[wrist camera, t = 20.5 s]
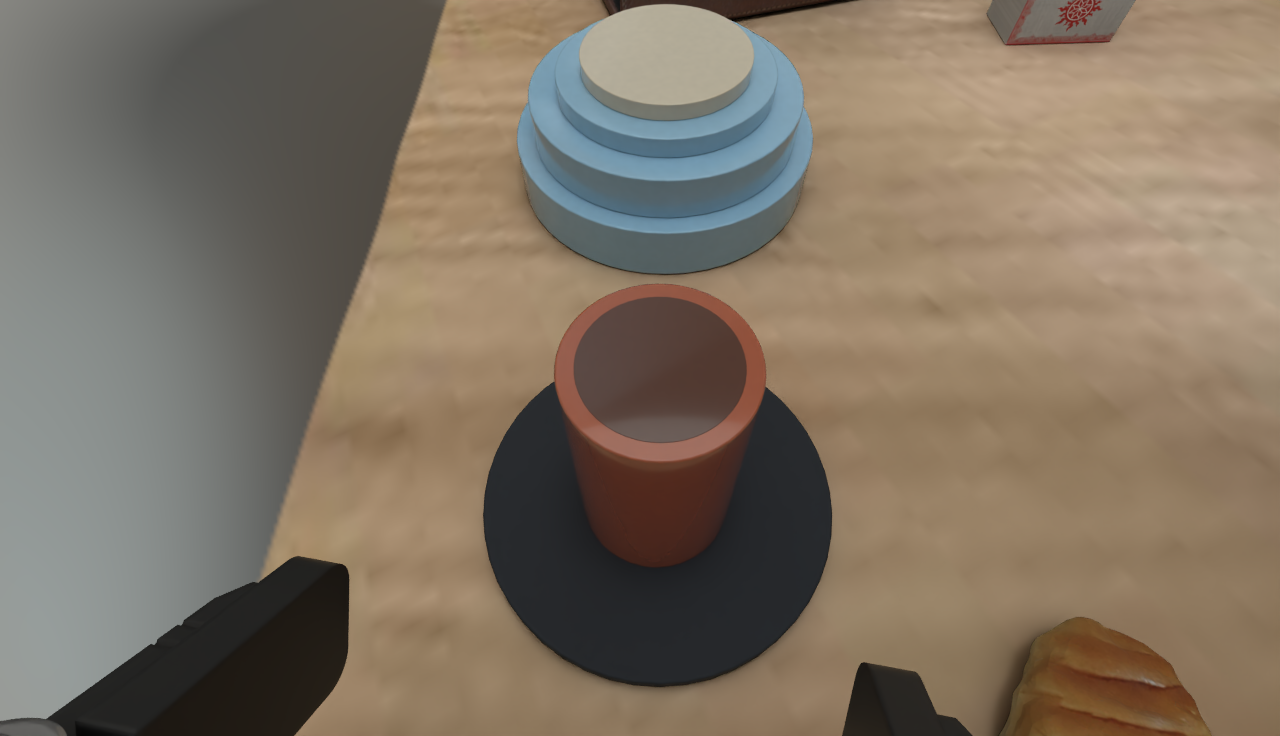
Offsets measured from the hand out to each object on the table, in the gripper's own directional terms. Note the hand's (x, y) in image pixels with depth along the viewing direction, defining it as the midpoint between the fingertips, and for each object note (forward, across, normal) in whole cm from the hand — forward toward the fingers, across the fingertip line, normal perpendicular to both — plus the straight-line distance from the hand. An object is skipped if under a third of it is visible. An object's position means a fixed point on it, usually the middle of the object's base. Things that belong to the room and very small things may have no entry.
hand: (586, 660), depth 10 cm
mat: (+14, 0, +4) cm, 15 cm away
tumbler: (+14, 0, +3) cm, 14 cm away
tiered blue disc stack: (+28, +3, -10) cm, 29 cm away
